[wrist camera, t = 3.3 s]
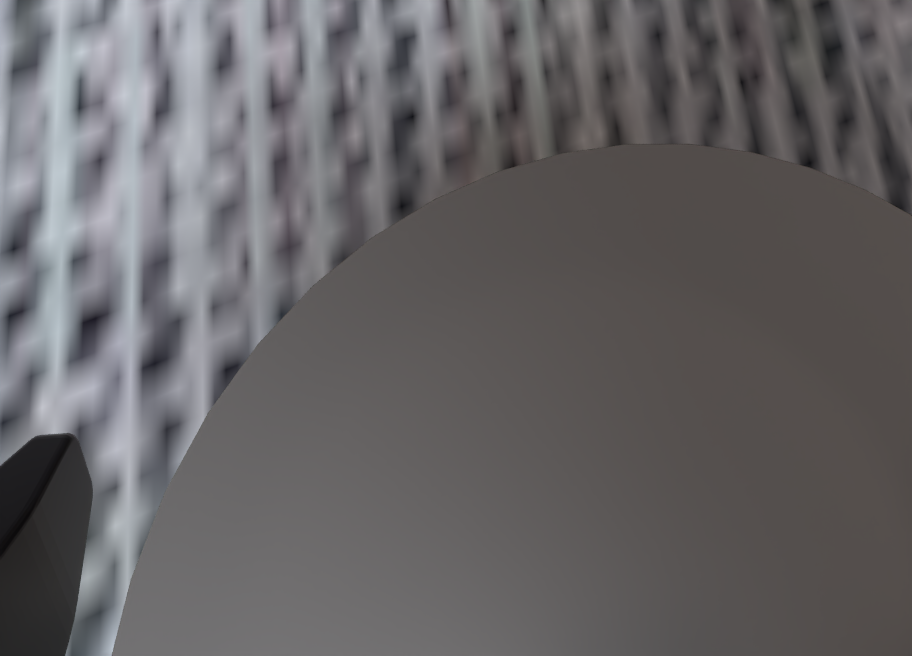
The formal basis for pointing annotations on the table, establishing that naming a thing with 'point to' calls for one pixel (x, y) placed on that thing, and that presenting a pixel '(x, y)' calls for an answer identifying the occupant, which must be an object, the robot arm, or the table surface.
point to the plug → (566, 430)
